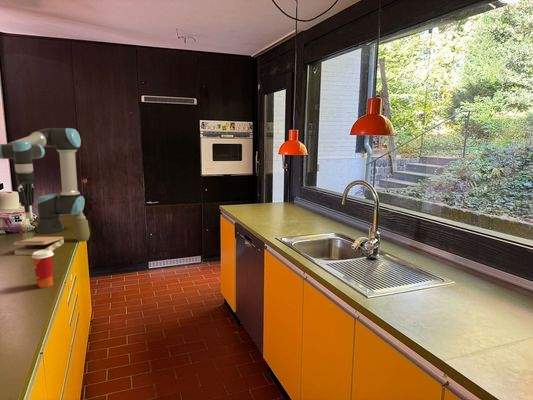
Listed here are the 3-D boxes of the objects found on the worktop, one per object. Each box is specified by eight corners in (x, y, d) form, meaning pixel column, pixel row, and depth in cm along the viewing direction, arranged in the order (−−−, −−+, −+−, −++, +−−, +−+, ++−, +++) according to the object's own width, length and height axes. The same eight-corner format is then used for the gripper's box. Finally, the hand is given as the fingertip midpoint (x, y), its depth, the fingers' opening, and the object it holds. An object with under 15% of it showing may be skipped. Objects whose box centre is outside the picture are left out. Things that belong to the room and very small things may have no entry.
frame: (36, 243, 210) (35, 239, 209) (63, 243, 211) (63, 239, 210) (14, 254, 190) (14, 250, 190) (45, 254, 191) (44, 249, 191)
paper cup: (40, 281, 156) (37, 249, 153) (59, 281, 156) (56, 249, 154) (30, 289, 148) (27, 255, 146) (50, 288, 149) (47, 255, 146)
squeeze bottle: (84, 243, 212) (82, 212, 209) (71, 242, 214) (69, 211, 211) (93, 239, 220) (91, 209, 217) (81, 238, 222) (79, 208, 219)
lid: (35, 238, 209) (35, 236, 209) (63, 238, 210) (63, 236, 210) (13, 244, 189) (13, 242, 189) (44, 244, 190) (44, 241, 190)
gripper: (24, 170, 192) (28, 215, 196) (8, 173, 179) (13, 221, 183) (39, 171, 193) (43, 215, 197) (24, 173, 180) (29, 221, 184)
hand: (29, 218), depth 190 cm, fingers closed
